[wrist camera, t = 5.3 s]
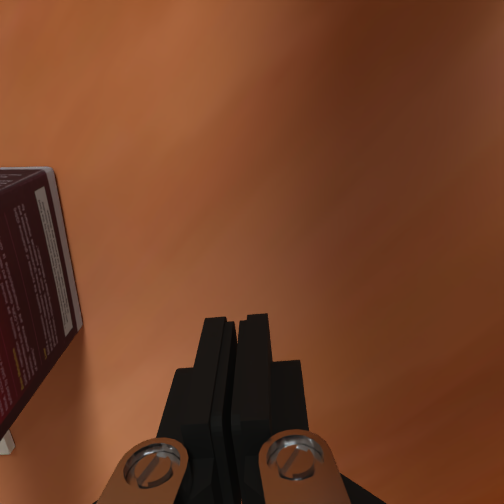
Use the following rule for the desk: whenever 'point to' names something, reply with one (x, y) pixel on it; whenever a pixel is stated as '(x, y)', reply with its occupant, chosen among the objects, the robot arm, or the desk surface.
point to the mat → (6, 444)
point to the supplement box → (32, 286)
